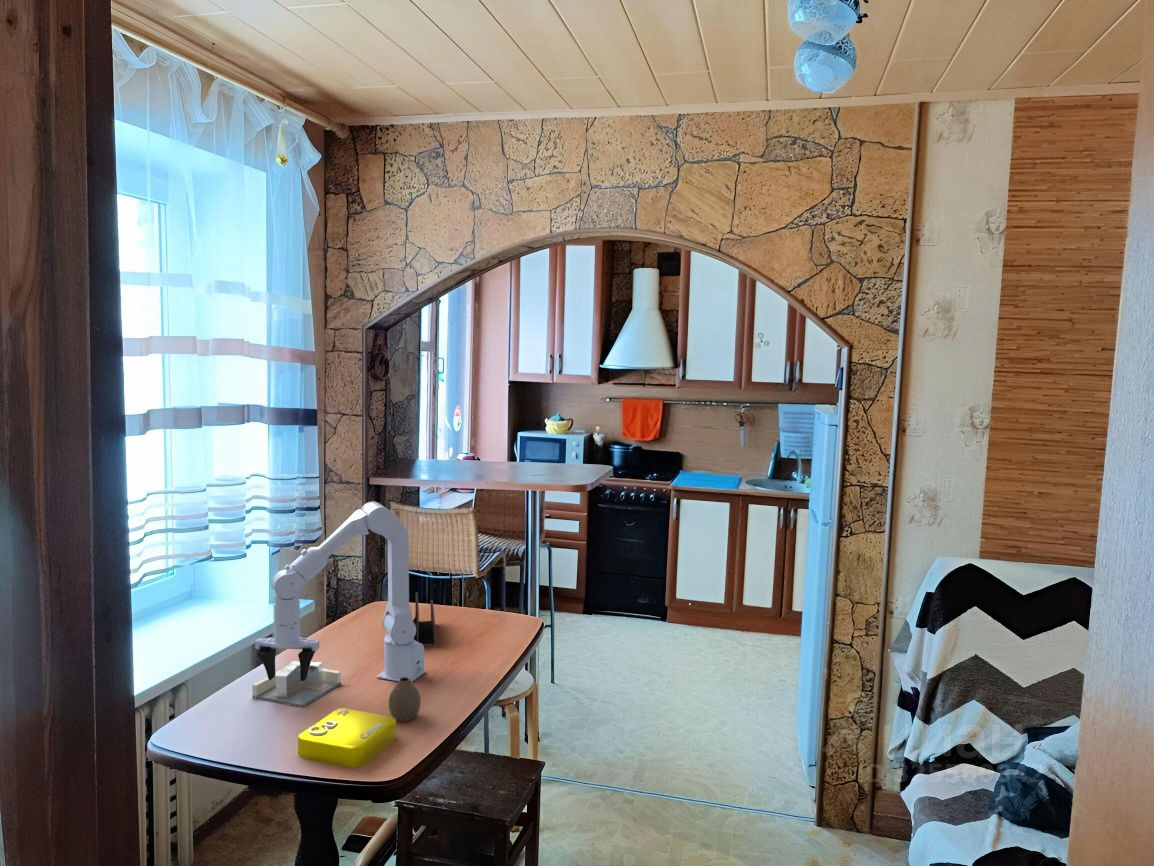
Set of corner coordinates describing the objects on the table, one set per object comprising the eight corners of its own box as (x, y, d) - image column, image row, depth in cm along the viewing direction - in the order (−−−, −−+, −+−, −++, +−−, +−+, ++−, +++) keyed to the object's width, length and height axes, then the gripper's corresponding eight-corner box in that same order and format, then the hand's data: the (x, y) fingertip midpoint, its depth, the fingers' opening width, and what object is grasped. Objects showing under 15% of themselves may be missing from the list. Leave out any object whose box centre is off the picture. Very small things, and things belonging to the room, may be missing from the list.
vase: (393, 727, 166) (392, 687, 165) (385, 714, 172) (385, 676, 171) (424, 721, 169) (424, 682, 168) (415, 708, 175) (415, 670, 174)
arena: (340, 683, 188) (340, 671, 187) (302, 707, 174) (302, 694, 174) (293, 675, 192) (293, 663, 192) (252, 697, 179) (252, 684, 179)
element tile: (358, 771, 148) (358, 747, 148) (293, 757, 153) (293, 734, 153) (400, 736, 162) (400, 714, 162) (339, 725, 167) (339, 703, 167)
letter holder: (398, 650, 211) (398, 599, 210) (399, 626, 230) (399, 580, 229) (435, 648, 213) (436, 598, 212) (433, 624, 232) (433, 578, 231)
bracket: (308, 698, 178) (307, 677, 177) (276, 697, 178) (275, 675, 178) (322, 682, 187) (322, 662, 186) (292, 681, 187) (291, 661, 186)
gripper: (324, 617, 184) (324, 673, 185) (264, 615, 184) (265, 670, 185) (312, 627, 177) (313, 685, 178) (250, 625, 177) (251, 682, 178)
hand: (287, 678), depth 181 cm, fingers open, 7 cm apart
